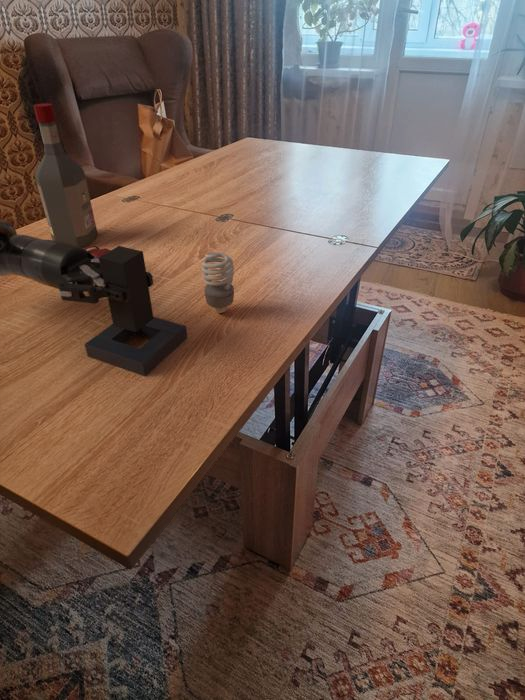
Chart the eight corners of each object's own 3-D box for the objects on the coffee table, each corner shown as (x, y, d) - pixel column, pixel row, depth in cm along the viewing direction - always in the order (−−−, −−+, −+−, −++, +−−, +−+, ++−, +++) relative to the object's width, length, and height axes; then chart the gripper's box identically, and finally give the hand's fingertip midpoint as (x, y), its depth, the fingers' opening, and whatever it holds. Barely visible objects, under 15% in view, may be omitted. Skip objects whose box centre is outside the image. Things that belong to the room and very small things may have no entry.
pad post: (136, 332, 76) (122, 263, 69) (113, 325, 78) (98, 257, 71) (153, 318, 79) (143, 251, 72) (131, 311, 81) (118, 245, 74)
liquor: (101, 234, 121) (73, 101, 103) (86, 249, 114) (52, 109, 96) (67, 232, 122) (33, 100, 104) (49, 247, 114) (10, 108, 97)
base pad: (145, 376, 75) (142, 363, 73) (87, 356, 79) (84, 344, 78) (187, 337, 83) (186, 325, 82) (133, 321, 88) (131, 310, 86)
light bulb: (200, 316, 89) (194, 257, 82) (214, 302, 93) (209, 244, 86) (227, 323, 87) (224, 262, 80) (240, 308, 91) (238, 249, 84)
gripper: (15, 261, 72) (103, 286, 66) (84, 228, 82) (165, 247, 76) (30, 304, 77) (114, 331, 70) (93, 268, 87) (171, 288, 81)
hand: (140, 287), depth 73 cm, fingers closed on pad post, 4 cm apart
